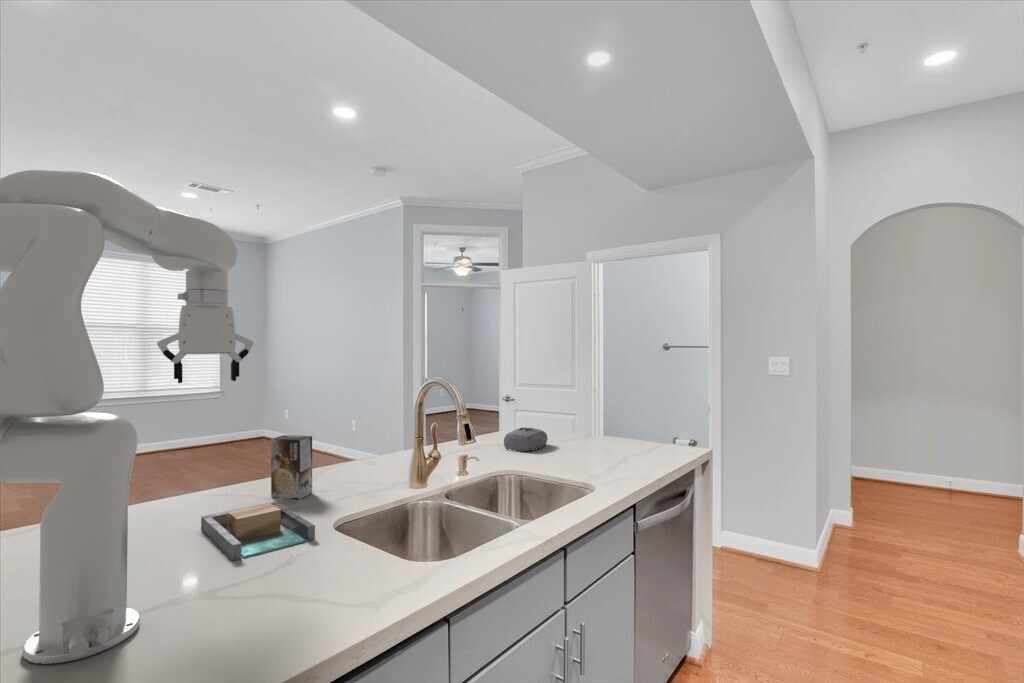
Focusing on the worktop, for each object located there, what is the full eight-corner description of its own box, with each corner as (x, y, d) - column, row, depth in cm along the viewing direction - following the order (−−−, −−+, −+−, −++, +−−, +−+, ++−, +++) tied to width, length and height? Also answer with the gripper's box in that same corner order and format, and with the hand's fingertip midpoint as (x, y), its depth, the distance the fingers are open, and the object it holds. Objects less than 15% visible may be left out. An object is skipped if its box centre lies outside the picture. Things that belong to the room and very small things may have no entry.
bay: (314, 539, 110) (315, 525, 110) (232, 561, 99) (232, 545, 99) (275, 513, 126) (275, 501, 126) (201, 529, 115) (201, 516, 115)
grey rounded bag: (531, 454, 198) (554, 445, 215) (531, 432, 198) (554, 425, 216) (498, 449, 206) (523, 442, 223) (498, 429, 206) (523, 422, 223)
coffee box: (313, 493, 144) (314, 435, 144) (300, 499, 138) (300, 439, 138) (283, 491, 146) (284, 434, 146) (269, 497, 139) (269, 438, 140)
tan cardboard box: (280, 532, 114) (280, 509, 115) (236, 542, 108) (236, 519, 108) (270, 525, 119) (270, 503, 119) (227, 535, 112) (227, 512, 112)
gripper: (156, 296, 99) (157, 385, 100) (255, 300, 109) (255, 381, 109) (157, 298, 106) (157, 382, 106) (250, 302, 115) (250, 378, 116)
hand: (207, 381), depth 108 cm, fingers open, 9 cm apart
